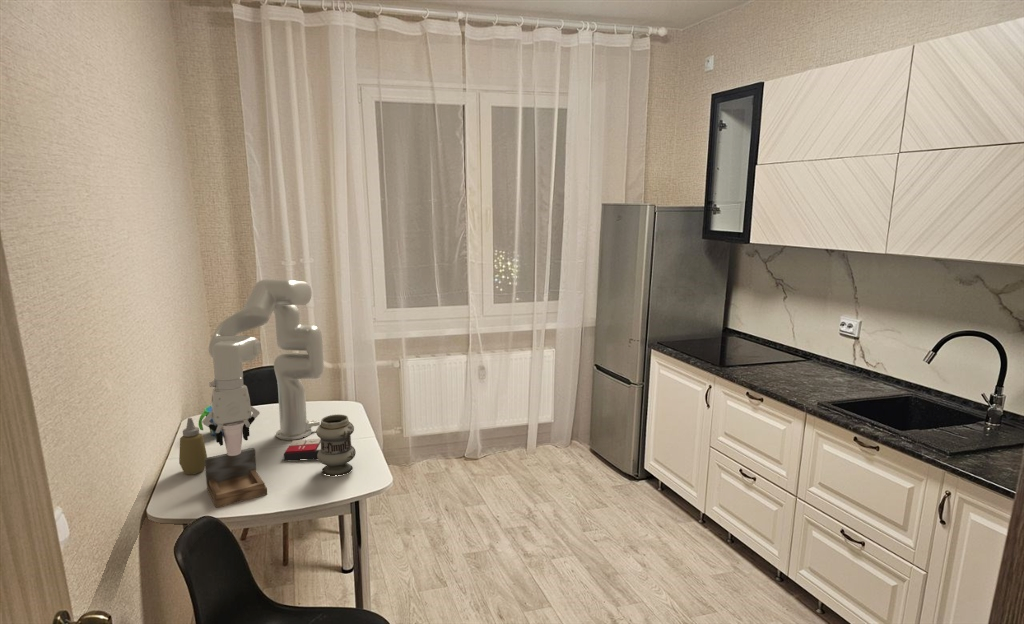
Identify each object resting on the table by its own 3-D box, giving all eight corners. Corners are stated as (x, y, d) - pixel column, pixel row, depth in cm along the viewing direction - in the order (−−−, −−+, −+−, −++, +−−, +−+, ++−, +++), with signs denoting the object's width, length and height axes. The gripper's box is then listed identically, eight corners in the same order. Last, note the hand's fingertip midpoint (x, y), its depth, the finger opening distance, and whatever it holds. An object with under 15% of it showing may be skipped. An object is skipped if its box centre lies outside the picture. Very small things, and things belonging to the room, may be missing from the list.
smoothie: (217, 456, 171) (214, 411, 169) (231, 448, 178) (229, 404, 175) (236, 458, 170) (233, 412, 168) (250, 450, 176) (248, 406, 174)
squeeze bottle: (187, 466, 193) (182, 414, 190) (212, 465, 194) (208, 414, 191) (175, 477, 185) (170, 423, 182) (201, 476, 186) (197, 422, 183)
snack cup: (205, 442, 213) (203, 415, 211) (194, 434, 220) (192, 409, 218) (248, 431, 224) (246, 405, 222) (236, 424, 231) (235, 399, 229)
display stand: (255, 477, 186) (253, 447, 184) (267, 494, 175) (265, 462, 173) (206, 489, 177) (204, 458, 176) (216, 507, 166) (213, 475, 165)
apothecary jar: (317, 465, 195) (314, 414, 192) (354, 460, 199) (352, 410, 196) (319, 480, 184) (316, 426, 181) (358, 475, 188) (356, 422, 185)
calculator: (291, 439, 208) (334, 436, 210) (292, 450, 209) (335, 447, 211) (283, 451, 198) (328, 448, 199) (284, 463, 198) (329, 460, 200)
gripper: (198, 391, 162) (203, 452, 165) (263, 381, 172) (267, 439, 175) (194, 385, 168) (198, 444, 171) (257, 375, 178) (260, 431, 181)
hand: (233, 441), depth 173 cm, fingers closed on smoothie, 6 cm apart
